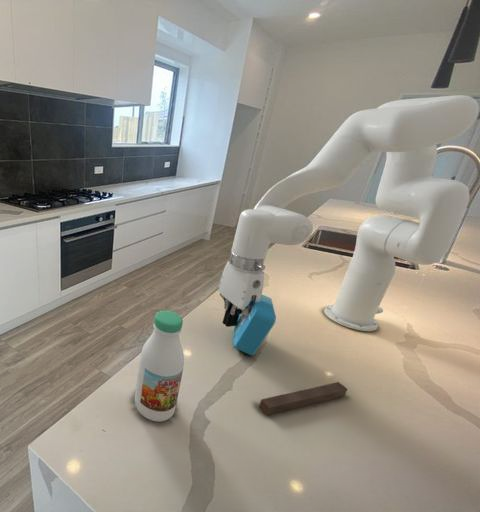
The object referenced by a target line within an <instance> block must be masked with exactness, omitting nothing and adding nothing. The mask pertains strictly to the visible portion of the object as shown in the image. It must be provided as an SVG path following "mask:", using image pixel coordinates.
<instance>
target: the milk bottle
mask: <svg viewBox="0 0 480 512" xmlns="http://www.w3.org/2000/svg"><path fill="white" fill-rule="evenodd" d="M153 319H154V320H153V332H152V333H151V335H150V336H149V337H148V338H147V340H146V341H145V342H144V344H143V347H142V349H141V353H140V358H139V363H138V371H137V377H136V384H135V393H134V405H135V408H136V410H137V412H139V414H140V415H141V416H142V417H144V418H146V419H148V420H149V421H153V422H164V421H167V420H169V419H170V418H172V417H173V415H174V414H175V411H176V408H177V402H178V397H179V393H180V387H181V384H182V383H181V382H182V379H183V378H182V377H183V372H184V366H185V355H184V350H183V347H182V343H181V340H180V334H181V333H182V327H183V323H184V321H183V317H182V316H181V315H180V314H178V313H177V312H174V311H171V310H160V311H157V312H156V313H155V315H154V318H153Z"/></svg>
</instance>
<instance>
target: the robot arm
mask: <svg viewBox="0 0 480 512" xmlns="http://www.w3.org/2000/svg"><path fill="white" fill-rule="evenodd" d="M479 108H480V106H479V103H478V101H477V99H475V98H473V97H472V96H470V95H465V94H457V95H442V96H430V97H417V98H404V99H398V100H391V101H388V102H385V103H383V104H381V105H379V106H378V107H376V108H367V109H363V110H359V111H356V112H354V113H353V114H351V115H349V117H347V118H346V119H345V121H344V122H342V124H341V125H340V126H339V127H338V129H337V130H336V131H335V132H334V133H333V135H332V136H331V137H330V138H329V140H328V141H327V142H326V143H325V144H324V145H323V147H322V148H321V150H320V151H319V152H318V153H316V155H315V157H314V158H313V159H312V160H311V162H309V163H308V165H306V166H305V167H303V168H301V169H299V170H297V171H295V172H293V173H291V174H290V175H288V176H286V177H285V178H284V179H282V180H280V181H278V182H276V184H274V185H273V186H271V187H270V188H269V189H268V190H267V191H266V192H265V194H264V195H263V196H262V197H261V199H259V201H258V202H257V203H256V205H254V207H253V208H248V209H244V210H242V211H241V213H240V215H239V217H238V222H237V226H236V230H235V234H234V239H233V243H232V247H231V250H230V255H229V259H228V260H227V262H226V264H225V266H224V269H223V271H222V273H221V274H222V275H221V277H220V280H219V286H218V292H219V296H220V297H221V298H222V300H223V302H224V306H223V307H224V315H223V320H222V325H225V327H227V328H229V327H233V326H236V324H237V321H238V318H239V314H243V315H246V316H248V315H249V312H250V310H251V308H252V306H253V302H254V301H255V302H260V300H261V295H263V290H264V284H265V272H264V270H265V269H266V265H265V260H266V257H267V253H268V251H269V248H270V244H278V245H282V246H297V245H301V244H302V243H304V242H307V240H308V239H309V238H310V237H311V236H312V234H313V229H314V227H313V223H312V221H311V220H310V219H309V217H307V216H306V215H304V214H301V213H299V212H295V211H292V210H289V209H287V208H286V207H287V206H288V205H289V204H290V203H292V202H294V201H296V200H297V199H298V198H299V199H300V198H301V197H304V196H306V195H310V194H314V193H320V192H324V191H329V190H332V189H337V188H340V187H342V186H344V185H346V184H347V183H348V181H349V180H350V179H351V178H352V177H353V175H354V174H355V173H357V171H358V170H359V168H360V167H361V166H362V165H363V164H364V163H365V161H367V159H369V157H370V156H371V155H372V154H373V153H375V152H383V153H386V157H385V164H384V167H383V171H382V174H381V177H380V181H379V184H378V188H377V191H376V195H375V205H376V207H377V208H379V209H380V210H382V211H385V212H388V213H392V214H396V215H400V216H405V217H409V218H414V219H419V221H414V220H410V219H406V218H401V217H398V216H397V217H396V216H392V215H385V214H384V215H383V214H378V215H373V216H370V217H368V218H366V219H365V220H363V221H362V223H360V225H359V227H358V230H357V234H356V241H355V247H354V250H353V253H352V257H351V260H350V263H349V265H348V267H347V270H346V272H345V274H344V277H343V279H342V282H341V285H340V287H339V290H338V292H337V295H336V297H335V300H334V302H333V304H330V305H327V306H325V307H324V310H323V312H324V314H325V316H326V317H327V318H329V319H330V320H331V321H333V322H334V323H337V324H339V325H341V326H343V327H346V328H349V329H353V330H356V331H361V332H374V331H377V329H378V327H379V324H378V322H377V320H376V319H374V318H375V316H376V315H378V314H382V313H383V312H384V309H383V307H381V303H382V302H383V299H384V298H385V295H386V293H387V291H388V289H389V287H390V284H391V282H392V280H393V278H394V276H395V273H396V269H397V267H396V266H397V265H396V261H395V258H396V259H400V260H403V261H406V262H409V263H413V264H415V265H420V266H429V265H434V264H436V263H438V262H440V261H441V260H442V259H443V258H445V255H446V254H447V253H448V251H449V249H450V247H451V246H452V243H453V241H454V239H455V236H456V234H457V232H458V229H459V227H460V224H461V223H462V220H463V218H464V215H465V213H466V211H467V209H468V206H469V202H470V190H469V187H468V186H467V185H466V184H465V183H463V182H462V181H459V180H455V179H449V178H441V177H440V178H439V177H434V176H433V170H434V167H435V165H436V161H437V157H438V148H437V145H440V144H443V143H448V142H451V141H453V140H455V139H458V138H459V137H460V136H462V135H464V133H466V132H467V131H468V130H469V129H470V128H471V127H472V126H473V125H474V124H475V122H476V120H477V118H478V116H479V111H480V110H479ZM254 299H255V300H254Z"/></svg>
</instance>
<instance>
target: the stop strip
mask: <svg viewBox="0 0 480 512" xmlns="http://www.w3.org/2000/svg"><path fill="white" fill-rule="evenodd" d="M348 389H349V388H348V387H346V386H344V385H343V384H342V383H341V382H339V381H336V382H333V383H327V384H323V385H318V386H315V387H310V388H306V389H301V390H297V391H291V392H288V393H283V394H279V395H275V396H270V397H266V398H262V399H260V402H259V404H258V407H259V409H260V410H261V412H263V413H264V414H265V415H266V416H269V415H273V414H277V413H282V412H286V411H290V410H293V409H299V408H302V407H306V406H310V405H311V406H312V405H314V404H319V403H322V402H326V401H331V400H334V399H339V398H343V397H345V396H346V394H347V392H348Z"/></svg>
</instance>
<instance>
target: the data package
mask: <svg viewBox="0 0 480 512" xmlns="http://www.w3.org/2000/svg"><path fill="white" fill-rule="evenodd" d="M254 300H255V299H254ZM276 320H277V316H276V312H275V307H274V304H273V299H272V297H269V296H266V295H264V294H262V295H261V300H260V302H255V301H254V302H253V306H252V308H251V310H250V312H249V315H248V316H246V315H243V314H239V318H238V321H237V324H236V326H232V347H233V348H234V349H236V350H238V351H240V352H242V353H245V354H247V355H249V356H254V355H255V354H256V353H257V351H258V350H259V348H260V346H261V345H262V344H263V342H264V341H265V339H266V337H267V336H268V334H269V333H270V331H271V330H272V329H273V327H274V325H275V323H276Z"/></svg>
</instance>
